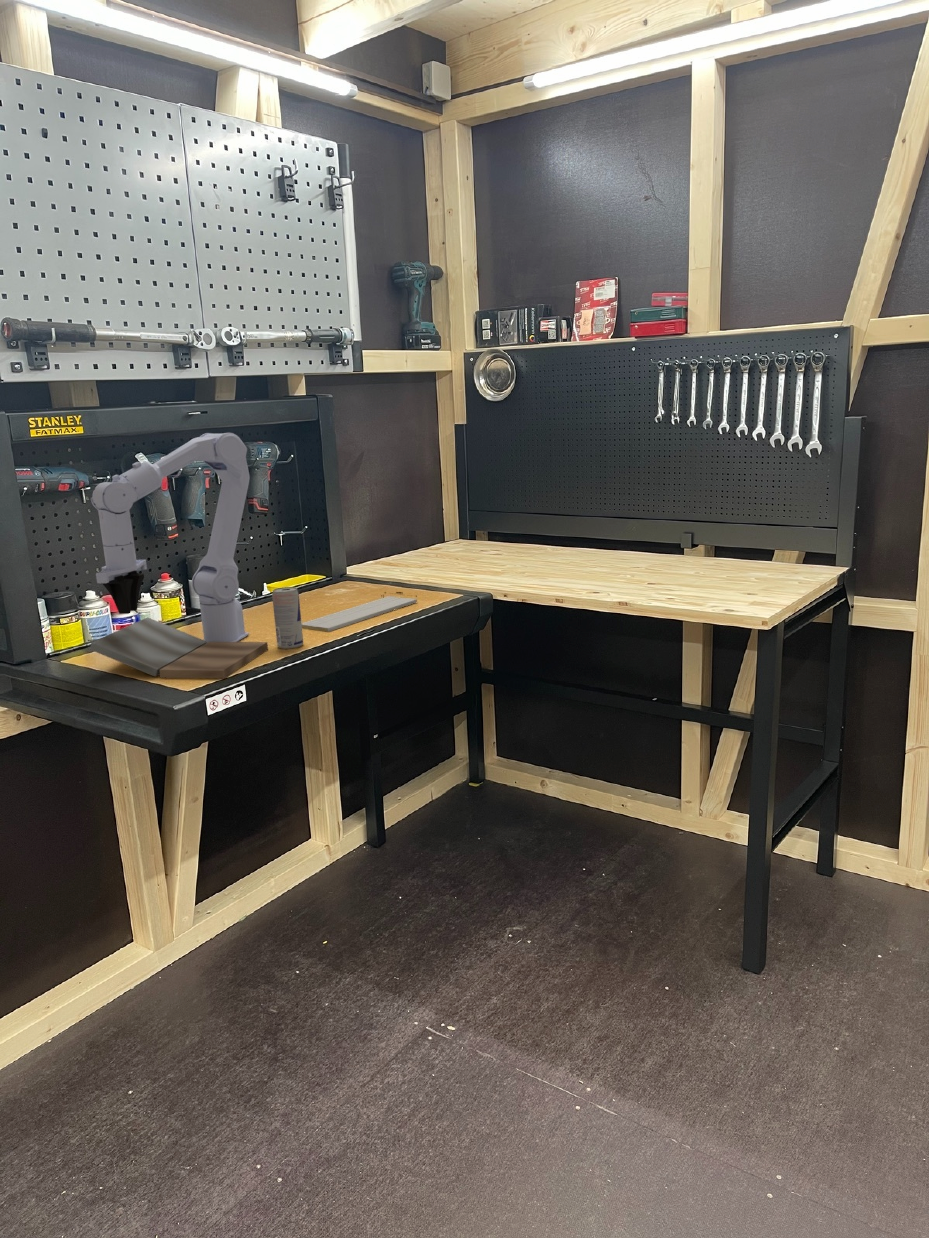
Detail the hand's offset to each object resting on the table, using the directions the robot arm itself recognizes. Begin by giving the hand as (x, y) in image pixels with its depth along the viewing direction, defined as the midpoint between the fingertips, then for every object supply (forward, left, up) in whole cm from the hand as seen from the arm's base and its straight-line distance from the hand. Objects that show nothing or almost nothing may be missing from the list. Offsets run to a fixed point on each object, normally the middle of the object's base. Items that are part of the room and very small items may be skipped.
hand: (128, 611), depth 183 cm
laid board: (0, +18, -10) cm, 21 cm away
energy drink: (-13, +28, -11) cm, 33 cm away
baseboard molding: (-41, +33, -11) cm, 54 cm away
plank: (0, +4, -8) cm, 8 cm away
